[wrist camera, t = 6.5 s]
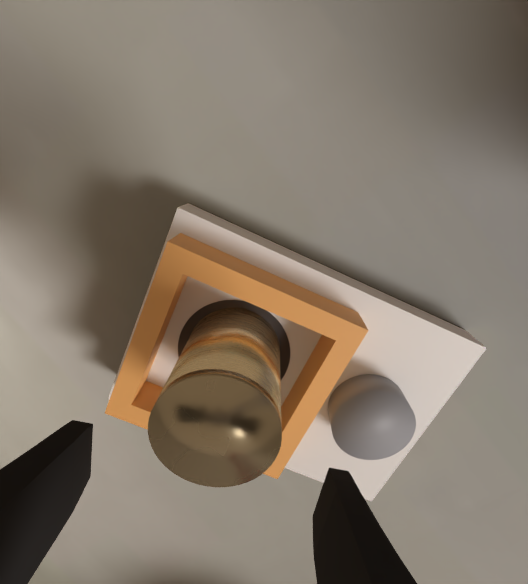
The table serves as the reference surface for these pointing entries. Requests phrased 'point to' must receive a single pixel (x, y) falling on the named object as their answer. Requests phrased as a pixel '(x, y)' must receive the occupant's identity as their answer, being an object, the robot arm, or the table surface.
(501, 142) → the table surface
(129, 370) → the white fixture board
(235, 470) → the bead tin
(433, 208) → the table surface
